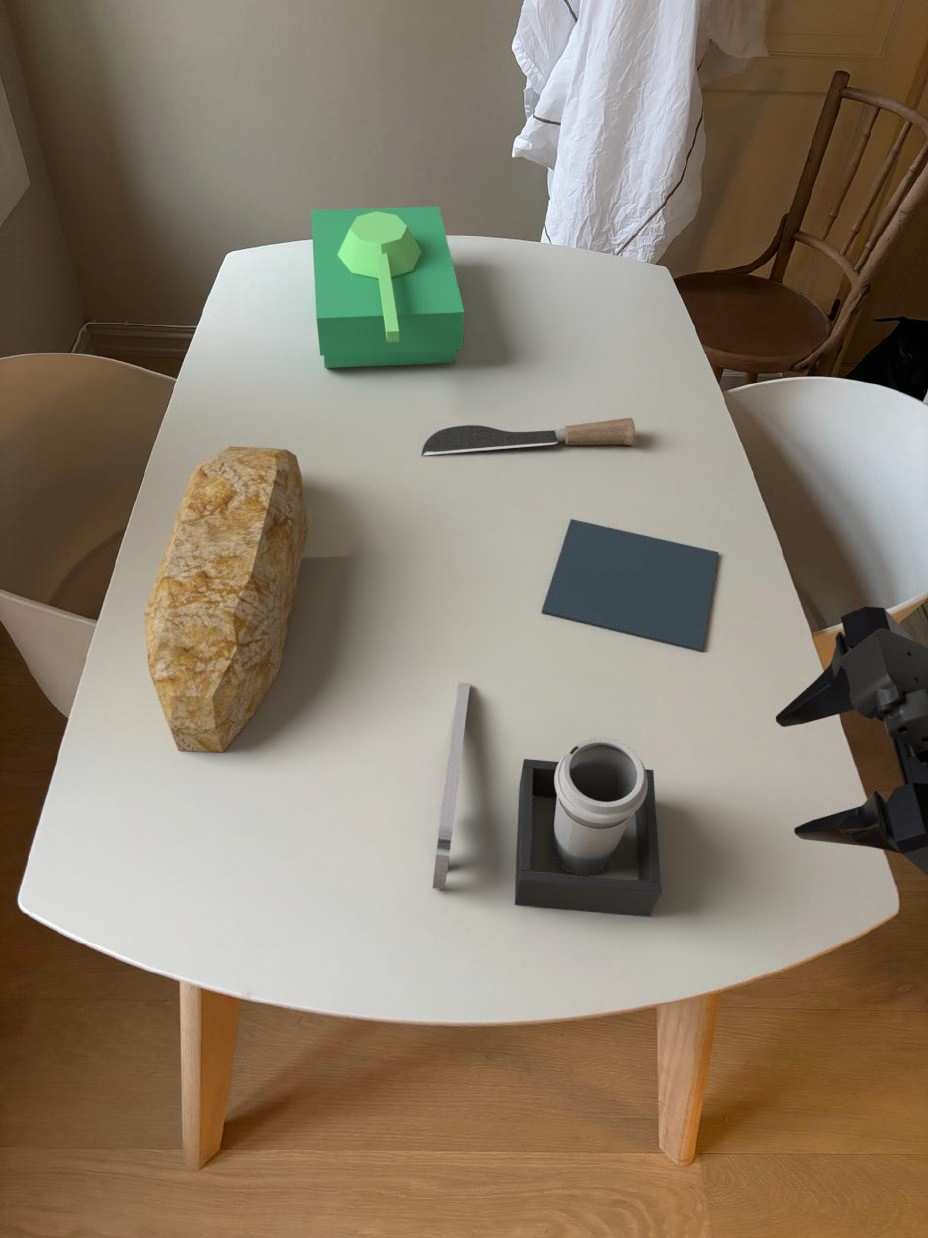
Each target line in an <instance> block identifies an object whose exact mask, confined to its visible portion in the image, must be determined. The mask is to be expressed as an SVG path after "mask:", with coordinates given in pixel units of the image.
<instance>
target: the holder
mask: <svg viewBox="0 0 928 1238" xmlns="http://www.w3.org/2000/svg"><path fill="white" fill-rule="evenodd" d="M558 763H559V761H555V760H554V761H553V760H542V759H528V758H524V759H523V761H522V768H521V776H520V781H519V788H518V810H517V811H518V813H517V832H516V833H517V834H516V836H517V837H516V856H515V857H516V859H515V860H516V861H515V884H514V905H515V906H524V907H534V908H547V909H556V910H557V909H558V910H570V911H579V912H580V911H581V912H591V913H604V914H613V915H614V914H615V915H625V916H637V917H651V916H652V914H653V912H654V909H655V908H656V906H657V905H656V904H657V903H658V901H659V898H660V895H661V893H662V883H661V882H662V879H661V864H660V863H661V862H660V851H659V850H660V849H659V848H660V847H659V836H658V820H657V806H656V805H657V804H656V791H655V789H656V788H655V773H654V772H655V771H654V769H647V768H645V771H646V774H647V780H648V788H647V794H646V797H645V799H644V801H643V803H642V805H641V806H640V807H639V809H638V810H637V811H636V812H634V823H635V839H636V840H635V841H636V854H637V855H636V859H637V860H636V861H637V877H638V878H637V879H625V878H624V879H623V878H615V877H614V878H613V877H603V876H602V877H601V876H592V875H578V874H566V873H556V872H544V871H531V861H532V860H531V859H532V857H531V855H532V830H533V829H532V827H533V825H532V824H533V823H532V822H533V797H534V798H535V797H537V798H549V799H557V793H556V789H555V783H554V777H555V771H556V768H557V765H558Z"/></svg>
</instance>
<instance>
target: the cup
mask: <svg viewBox="0 0 928 1238" xmlns="http://www.w3.org/2000/svg"><path fill="white" fill-rule="evenodd" d="M558 762H559V763H558V765H557V768H556V771H555V777H554V783H555V789H556V793H557V798H556V800H555V801H556V802H555V810H554V811H555V812H554V822H553V831H554V837H553V853H554V856H555V858H556V861H557V862H558V864H559V865H561V867H562V868H563V869H565V870H566V871H568V872H570V873H572V874H573V875H580V876H592V875H594V874H598V873H599V872H601V871H602V870H603V869H604V868H606V866H607V865H608V863H609V861H610V858H611V857H612V854H613V852H614V850H615V849H616V848H617V847H618V845H619V844H620V842H621V839H622V837H623V835H624V832H626V831H625V830H626V828H627V827H628V824H629V823H630V820H631V818H632V816H633V814H635V812H636V811H637V810H638V809H639V807H640V806H641V805H642V803H643V801H644V799H645V797H646V794H647V788H648V780H647V774H646V771H645V769H646V768H645V765H644V764H643V762H642V760H641V759H640V757H639V755H638V754H637V753H636V752H635V750H634V749H632V748H631V747H630V746H629V745H628V744H626V743H624V742H622V741H621V740H617V739H615V738H611V737H607V736H595V737H589V738H586V739H583V740H581V741H579V742H577V743H576V744H575V745H574V746H572V747H571V748H570V749H568V750H567V751H566V752H565V754H564V755H563V756H562V757H561V759H560V760H559V761H558Z"/></svg>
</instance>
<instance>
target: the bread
mask: <svg viewBox="0 0 928 1238" xmlns="http://www.w3.org/2000/svg"><path fill="white" fill-rule="evenodd" d="M303 485H304V484H303V476H302V473H301V469H300V465H299V462H298V457H297V455H296V454H294V453H293V452H291V451H289V450H288V449H286V448H285V449H284V448H277V447H276V448H274V447H260V446H259V447H258V446H257V447H255V446H228V447H226V448H224V449H223V450H221V451H220V452H218V453H216V454H214V455H213V456H211V457H209V458H208V459H206V460H204V461H203V462H200V463H199V464H198V465H197V466H196V467H195V468H194V469H193V470H192V472H191V475H190V477H189V481H188V483H187V486H186V490H185V493H184V496H183V498H182V502H181V504H180V508H179V510H178V513H177V516H176V519H175V522H174V525H173V528H172V531H171V533H170V536H169V539H168V543H167V546H166V548H165V550H164V555H163V557H162V560H161V563H160V566H159V569H158V572H157V574H156V579H155V581H154V584H153V587H152V589H151V593H150V595H149V599H148V602H147V604H146V607H145V609H144V612H143V617H144V630H145V641H146V653H147V664H148V672H149V674H150V677H151V680H152V684H153V686H154V689H155V692H156V694H157V697H158V701H159V703H160V707H161V709H162V711H163V714H164V718H165V720H166V722H167V725H168V728H169V730H170V733H171V735H172V738H173V741H174V743H175V746H176V749H177V751H182V752H183V751H188V752H204V753H223V752H224V751H225V750H227V748H228V746H229V745H230V744H231V743H232V742H233V740H234V739H235V738H236V737H237V736H238V735H239V733H240V732H241V731H243V728H245V726H246V725H247V724H248V723H249V721H250V720H251V719H252V718H253V717H254V715H255V714H256V712H257V710H258V709H259V707H260V705H261V703H262V701H263V699H264V698H265V697H266V694H267V693H268V691H269V689H270V687H271V686H272V684H273V683H274V680H275V679H276V677H277V676H278V673H280V667H281V664H282V658H283V653H284V648H285V643H286V638H287V633H288V629H289V625H290V620H291V619H290V618H291V615H292V609H293V604H294V598H295V594H296V590H297V585H298V580H299V579H298V578H299V574H300V570H301V565H302V559H303V555H304V550H305V545H306V540H307V535H308V530H309V527H308V518H307V511H306V502H305V501H306V500H305V492H304V486H303Z"/></svg>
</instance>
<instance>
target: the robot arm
mask: <svg viewBox="0 0 928 1238" xmlns="http://www.w3.org/2000/svg"><path fill="white" fill-rule="evenodd" d="M840 620H841V625H842V629H843V632H844V633H843V632H842V631H838V632H837V634H836V635H835V638H834V640H835V648H834V651H833V654H832V658H831V661H830V663H829V665H828V666H827V667H826V668H825V670H824V671H823V672H822V673H820V675H819V676H818V677H817V678H816V679H815V680H814V681H813V682H812V683H811V684H810V685H808V686H807V688H805V689H804V690H803V691H802V692H801V693H800V694H799V695H797V697H795V698H794V699H793V700H792V701H791V702H790V703H788V704H787V706H786V707H784V708H783V709H782V710H781V711H780V712H779V713H777V715H776V716H775V722H776V723H777V724H778V725H779V726H781V727H783V728H786V727H787V728H788V727H792V726H793V727H794V726H798V725H799V726H800V725H805V724H808V723H811V722H814V721H818V720H822V719H825V718H830V717H833V716H836V715H840V714H844V713H847V712H852V711H856V712H857V713H858V714H859V715H861V716H863V717H864V718H867V719H869V720H878V721H880V722H883V723H884V726H885V729H886V733H887V737H888V738H891V740H892V744H893V748H894V751H895V756H896V760H897V763H898V767H899V771H900V774H901V778H902V782H903V785H900V786H897V787H894V789H893V791H892V792H891V794H890V795H889V796H888V797H889V798H888V799H887V798H885V796H883V795H882V794H881V793H880V792H879V791H878V790H875V791H873V792H872V793H871V794H870V796H869V797H868V798H867V800H865V802H864V803H863V804H862V805H859V806H857V807H853V808H848V809H845V810H843V811H839V812H836V813H831V814H829V815H826V816H821V817H819V818H815V819H811V820H809V821H807V822H805V823H802V824H800V825H798V826H796V827H794V829H793V832H794V835H796V836H797V837H798V838H799V839H801V840H806V841H814V842H821V843H822V842H823V843H831V844H832V843H833V844H840V845H841V844H842V845H851V846H859V847H867V848H873V849H878V850H882V851H887V852H891V853H896V854H899V855H902V856H904V857H905V858H906V859H907V860H908V861H909V862H911V863H912V864H913V865H914V866H915V867H917V868H918V869H919V870H920V871H921V872H923V873H924V874H925V875H926V876H928V647H926V646H925V645H923V644H921V643H919V642H917V641H914V640H913V638H912V637H911V635H910V634H908V633H907V632H906V630H905V629H904V628H903V627H902V626H901V625H900V624H899V623H898V621H897V620H896V619H895V618H894V617H893V616H892V615H891V613H889V611H888V610H886V608H885V607H880V606H868V605H867V606H866V605H864V606H861V607H859V608H857V609H854V610H852V611H850V612H848V613H846V614H844V615H842V616H841V617H840ZM911 750H912V751H911ZM912 752H913V754H912Z"/></svg>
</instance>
